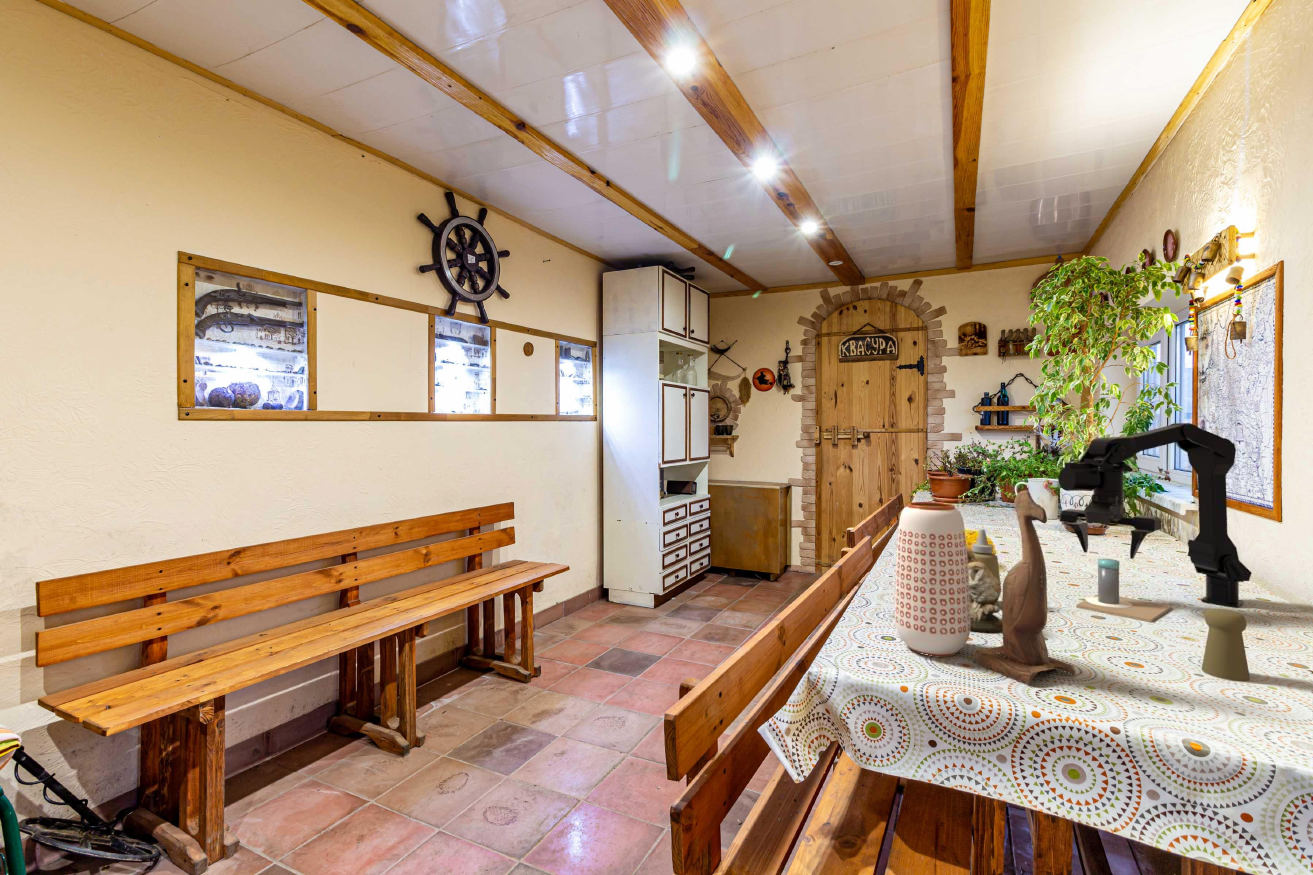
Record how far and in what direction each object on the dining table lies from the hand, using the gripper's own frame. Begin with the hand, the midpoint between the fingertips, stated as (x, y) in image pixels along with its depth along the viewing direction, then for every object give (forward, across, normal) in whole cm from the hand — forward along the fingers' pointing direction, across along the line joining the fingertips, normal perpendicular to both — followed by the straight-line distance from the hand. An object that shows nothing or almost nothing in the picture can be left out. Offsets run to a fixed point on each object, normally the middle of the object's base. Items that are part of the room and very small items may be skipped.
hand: (1108, 555), depth 142 cm
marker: (+11, 0, 0) cm, 11 cm away
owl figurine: (+12, -16, -39) cm, 44 cm away
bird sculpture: (+12, +4, -57) cm, 58 cm away
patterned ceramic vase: (+12, -11, -60) cm, 62 cm away
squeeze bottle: (+12, -19, -22) cm, 32 cm away
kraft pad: (+12, +3, 0) cm, 12 cm away
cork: (+12, +26, -32) cm, 43 cm away
